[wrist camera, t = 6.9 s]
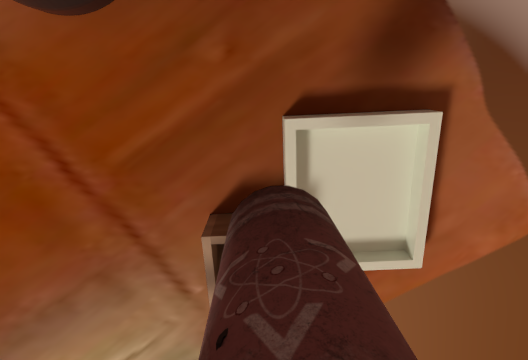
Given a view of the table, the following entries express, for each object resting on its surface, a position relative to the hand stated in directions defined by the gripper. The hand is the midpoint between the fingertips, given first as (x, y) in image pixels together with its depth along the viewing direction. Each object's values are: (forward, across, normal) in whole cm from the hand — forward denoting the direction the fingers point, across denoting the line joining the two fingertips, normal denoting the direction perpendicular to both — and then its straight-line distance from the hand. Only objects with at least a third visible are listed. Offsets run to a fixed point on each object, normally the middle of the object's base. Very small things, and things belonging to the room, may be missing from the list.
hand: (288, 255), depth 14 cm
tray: (+17, +8, -2) cm, 19 cm away
